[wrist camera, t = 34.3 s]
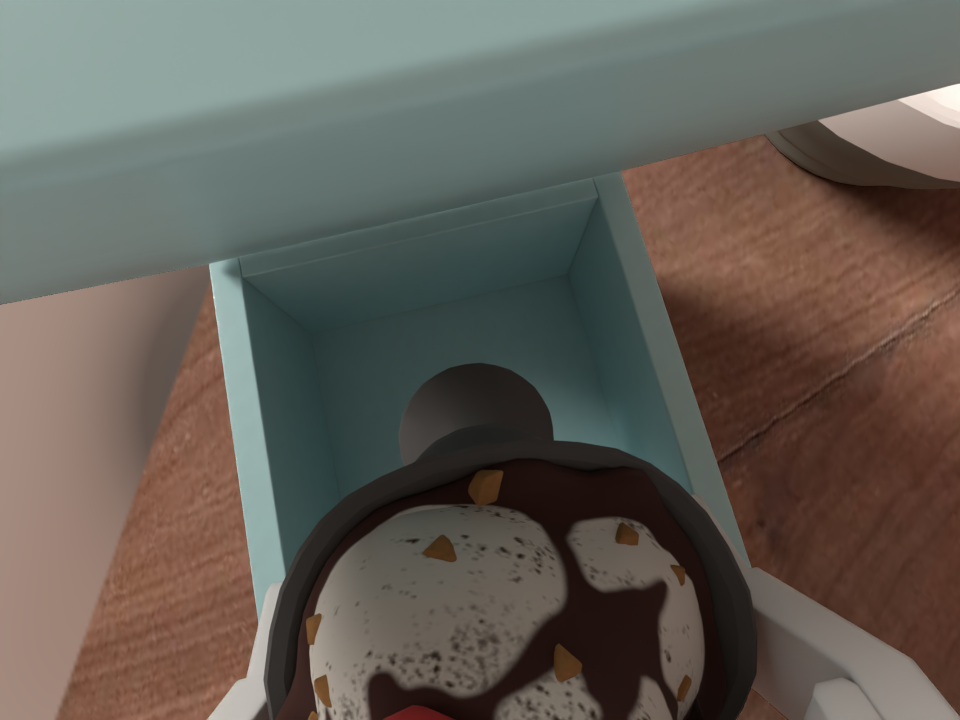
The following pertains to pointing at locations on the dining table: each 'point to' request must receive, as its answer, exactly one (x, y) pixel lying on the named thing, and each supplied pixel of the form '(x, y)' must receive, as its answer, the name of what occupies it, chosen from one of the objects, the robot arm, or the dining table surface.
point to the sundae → (510, 580)
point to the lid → (391, 110)
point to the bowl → (883, 143)
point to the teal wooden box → (447, 349)
